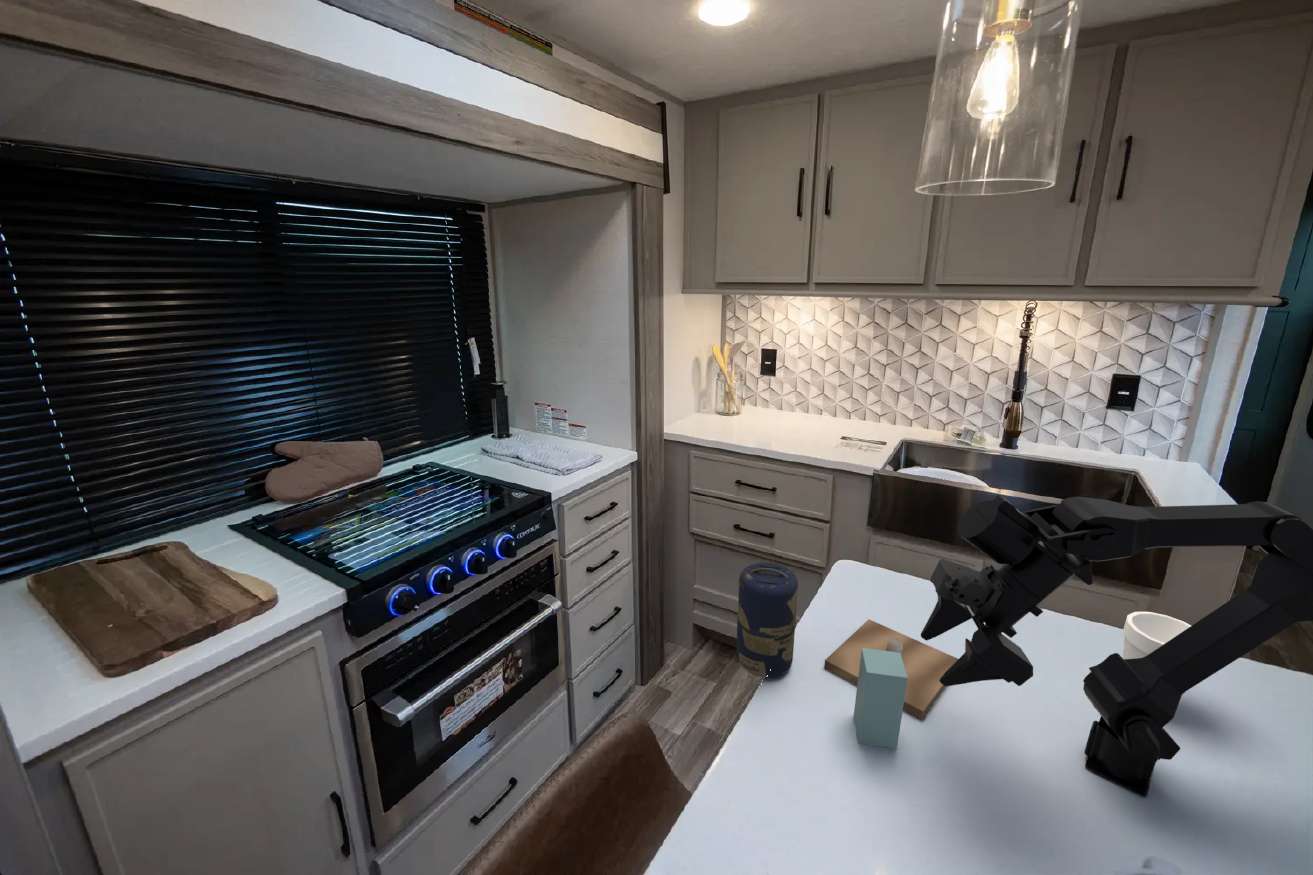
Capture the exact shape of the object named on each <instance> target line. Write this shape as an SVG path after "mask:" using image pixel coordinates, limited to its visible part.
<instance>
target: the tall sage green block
mask: <svg viewBox="0 0 1313 875" xmlns="http://www.w3.org/2000/svg"><path fill="white" fill-rule="evenodd" d="M907 679H908V677H907V674H906V670H905V667H904V664H903V660H902V657H901V653H898V652H890V651H883V650H875V649H867V648H862V651H861V659H860V667H859V675H858V684H857V685H856V693H855V700H854V701H855V702H854V708H853V720H854V727H855V734H856V739H857V743H858V744H863V745H871V746H876V747H882V748H883V747H884V748H890V749H894V750H895V749H898V742H899V738H900V737H899V736H900V730H901V725H902V716H903V712H904V710H903V705H904V699H905V692H906V686H907Z"/></svg>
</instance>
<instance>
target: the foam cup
mask: <svg viewBox="0 0 1313 875" xmlns="http://www.w3.org/2000/svg"><path fill="white" fill-rule="evenodd" d="M1191 626H1192V625H1191V624H1189V623H1187V622H1185V621H1183V620H1180V619H1178V618H1175V617H1173V616H1169V615H1166V614H1162V613H1161V614H1160V613H1157V612H1151V611H1133V612H1132V613H1128V614H1127V616H1126V619H1125V623H1124V627H1123V636H1124V638H1123V639H1124V640H1123V649H1122V650H1123V651H1122V658H1123V659H1134V658H1143V657H1145V656H1147V655H1149V654H1150V653H1152V652H1153V651H1155V650H1156V649H1158V648H1159V647H1161V646H1162V645H1164V644H1165V643H1167V642H1168V641H1170V640H1171V639H1173V638H1174V637H1176V636H1177V635H1179V634H1180V633H1182V632H1183V631H1185V630H1186V629H1188V628H1189V627H1191ZM1185 693H1186V692H1184V693H1183V694H1182V696H1181V699H1180V701H1181V700H1182V698H1183V696H1184V694H1185Z"/></svg>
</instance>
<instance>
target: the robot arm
mask: <svg viewBox="0 0 1313 875" xmlns="http://www.w3.org/2000/svg"><path fill="white" fill-rule="evenodd" d="M957 534H958V535H959V536H960V537H961V538H962V539H964V540H965V541H966V542H968V543H969V544H970V545H972V546H974V547H975V548H976V549H977V550H979V551H980V552H982V554H984V555H986V556H987V557H988V558H990V559H991V560H992V561H993V562H995V563H997V564H1000V565H1001V566H1000V567H998V568H997V567H996V566H994V565H993V564H990V566H989V565H988V566H987V565H986V566H985V567H984V568H983V569H982V570H980V571H978V570H976V569H973V568H971V567H969V566H967V565H964V564H960V563H957V562H954V561H951V560H948V559H943V558H941V559H938V562H937V564H936V566H935V568H934V569H933V572H932V574H931V575H930V579H929V581H930V582H931V584H933V586H934V588H935V590H934V591H935V593H936V595H937V602H936V604H935V605H934V608H933V610H932V611H931V613H930V615H929V618H928V620H927V621H926V623H925V625H924V627H923V629H922V631H921V633H920V637H921V639H923V640H924V641H929V640H930V641H931V640H932V639H934V638H936V637H939V636H941V635H943V634H944V633H946V632H948V631H950V630H952V629H954V628H956V627H958V626H960V625H961V624H964V623H965V622H966V623H967V621H969V620H971V619H972V621H973V622H974V624H975V626H976V628H977V630H975V631H974V632H973V635H972V637H971V640H970V639H968V638H965V643H964V646H965V647H964V650H965V652H964V653H963V654H962V655H961V656H960V657H959V658H958V660H957V661H956V662H955V663H954V664H953V665H952V666H951V667H950V668H949V669H948V670H947V671H946V672H945V673H944V674H943V676H942V677H941V678H940V680H939V681H940V683H941V684H943V685H944V686H946V687H952V686H958V685H964V684H968V683H969V684H970V683H977V682H981V681H985V682H986V681H997V680H1004V681H1005V682H1006V683H1008V684H1009V683H1012V682H1013V683H1014V684H1015V685H1017V686H1018V687H1021V686H1022V685H1024V683H1026V682H1027V681H1029V680H1030V679H1031V678H1033V677H1034V665H1033V664H1032V663H1031V661H1030V660H1029V658H1028V656H1027V655H1026V654H1025V652H1024V650H1023V649H1022V648H1021V647H1020V646H1019V645H1017V644H1016V643H1015V642H1013V641H1012V640H1011V639H1012V638H1013V637H1014V636H1016V635H1017V634H1018V632H1017V630H1016V629H1015V627H1014V625H1016V624H1017V623H1018V622H1019V621H1020V620H1021V619H1023V618H1025V616H1027V615H1028V614H1029V613H1030V614H1033V616H1035V617H1036V618H1037V617H1039V616H1040V615H1041V614H1042V613H1044V611H1043V609H1042V608H1041V607H1040V606H1039V605H1040V604H1041V603H1042V602H1044V601H1045V600H1046V599H1047V598H1048V597H1050V596H1051V595H1052V594H1053V593H1055V592H1056V591H1057V590H1058V589H1060V587H1062V586H1064V585H1065V583H1067V582H1068V581H1069V580H1070V579H1072V578H1073V577H1074V576H1075V577H1076V578H1077V579H1079V580H1080V581H1082V583H1084V584H1086V585H1087V586H1092V585H1093V584H1094V579H1093V572H1092V568H1093V562H1106V561H1112V560H1119V559H1126V558H1131V557H1133V556H1135V555H1137V554H1138V553H1140V552H1142V551H1144V550H1149V549H1153V548H1187V547H1188V548H1196V547H1197V548H1198V547H1203V548H1204V547H1205V548H1207V547H1209V548H1210V547H1255V546H1256V547H1257V546H1258V547H1259V548H1260V549H1261V550H1262V551H1264V553H1266V555H1265V556H1263V558H1262V559H1260V561H1258V562H1257V564H1256V567H1255V570H1254V573H1253V575H1252V579H1251V581H1250V584H1249V586H1248V587H1247V588H1246V589H1244V590H1243V591H1241V592H1240V593H1239V594H1236V596H1234V597H1233V598H1231V599H1230V600H1228V601H1227V602H1226V603H1224V604H1222V605H1221V606H1219V607H1218V608H1216V609H1214V610H1213V611H1211V612H1210V613H1208V614H1207V615H1205V616H1204V617H1203V618H1200V620H1198V621H1197V622H1195V623H1194V624H1192V625H1191V627H1189V628H1188V629H1186V630H1185V631H1183V632H1182V633H1180V634H1179V635H1177V636H1176V637H1174V638H1173V639H1171V640H1170V641H1168V642H1167V643H1165V644H1164V645H1162V646H1161V647H1159V648H1158V649H1156V650H1155V651H1153V652H1152V653H1150V654H1149V655H1147V656H1145V657H1143V658H1134V659H1123V656H1121V655H1120V653H1118V652H1115V653H1111V654H1109V655H1108V656H1107V657H1106V658H1105V659H1103V661H1101V662H1100V663H1098V664H1096V665H1092V666H1090V667H1089V668H1088V669H1089V671H1090V672H1089V673H1088V674H1087V675H1085V677H1083V678H1084V679H1083V680H1082V681H1083V687H1082V688H1083V691H1084V692H1083V693H1084V694H1085V696H1086V698H1087V699H1088V700H1089V702H1090V703H1091V705H1092V706H1093V708H1094V709H1095V710H1096V711H1097V712H1098V714H1099V715H1100V717H1099V720H1093V722H1092V725H1091V727H1090V730H1089V734H1088V736H1087V741H1086V743H1085V744H1086V745H1085V749H1084V752H1083V753H1084V755H1085V756H1087V757H1086V760H1085V765H1084V768H1086V769H1087V770H1088V771H1091V772H1093V773H1094V774H1097V775H1098V776H1101V777H1103V778H1105V779H1107V780H1109V781H1112V782H1113V783H1115V784H1117V785H1119V786H1120V787H1123V788H1125V789H1127V790H1129V791H1131V792H1132V793H1135V794H1137V795H1139V796H1141V797H1144V798H1147V797H1148V795H1149V789H1150V785H1151V779H1152V775H1153V772H1154V768H1155V766H1156V763H1157V762H1158V761H1159V760H1169V761H1170V760H1172V759H1173V758H1174V756H1176V755H1177V754H1178V752H1179V751H1181V747H1180V745H1179V744H1178V743H1177V742H1176V741H1175V740H1174V738H1173V737H1172V736H1171V735H1170V734H1169V733H1168V731H1167V730H1166V729H1165V728H1164V727H1165V726H1166V725H1167V724H1169V722H1171V721H1172V720H1173V719H1174V718H1175V717H1176V716H1175V715H1176V713H1177V711H1178V707H1179V705H1180V704H1179V703H1180V702H1181V700H1182V698H1181V696H1182V694H1183V693H1184V692H1185V693H1186V692H1188V691H1190V689H1192V688H1194V687H1195V686H1197V685H1198V684H1200V683H1202V682H1203V681H1205V680H1207V679H1208V678H1210V677H1211V676H1213V675H1214V674H1217V673H1218V672H1219V671H1221V670H1222V669H1223V668H1225V667H1227V666H1228V665H1230V664H1232V663H1233V662H1235V661H1237V660H1239V659H1240V658H1242V657H1243V656H1245V655H1246V654H1248V653H1250V652H1251V651H1253V650H1254V649H1256V648H1257V647H1259V646H1261V645H1262V644H1264V643H1265V642H1267V641H1269V640H1270V639H1272V638H1273V637H1275V636H1277V635H1278V634H1279V633H1281V632H1283V631H1285V630H1286V629H1288V628H1289V627H1291V626H1292V625H1294V624H1296V623H1301V622H1303V623H1304V622H1311V621H1313V528H1312V527H1310V526H1309V525H1308V524H1307V523H1306V522H1305V521H1304V519H1303V518H1302V517H1300V516H1297V515H1295V514H1293V513H1291V512H1289V511H1287V510H1285V509H1283V508H1281V507H1279V506H1277V505H1274V504H1273V503H1271V502H1267V501H1266V502H1265V501H1257V500H1255V501H1251V502H1250V501H1249V502H1247V503H1244V504H1243V503H1240V504H1237V503H1236V504H1235V503H1234V504H1206V505H1205V504H1204V505H1202V504H1201V505H1200V504H1199V505H1172V506H1171V505H1166V506H1135V505H1128V504H1125V503H1121V502H1118V501H1117V502H1116V501H1112V500H1110V499H1109V500H1108V499H1102V498H1094V497H1084V496H1071V497H1067V498H1065V499H1062V500H1061V501H1060V503H1058V504H1053V505H1049V506H1048V505H1047V506H1042V507H1037V508H1032V509H1028V510H1022V511H1020V510H1019V509H1017V507H1015V506H1014V505H1013V504H1012V503H1011V502H1010V501H1009V500H1008V499H1007V498H1006V497H1004V496H1003V495H1001V494H997V495H996V496H995V497H994V498H993V499H992V500H985V501H981V502H979V503H978V504H977V503H976V505H971V506H970V507H969V508H968V509H967V510H966V511H965V512H964V514H963V515H962V517H961V518H960V520H959V522H958V525H957ZM1042 540H1043V541H1044V542H1043V541H1042ZM1004 634H1005V635H1006V636H1005V635H1004ZM1008 637H1009V638H1008ZM1185 693H1184V694H1185ZM1182 697H1183V696H1182ZM1180 699H1181V700H1180Z"/></svg>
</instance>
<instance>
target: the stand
mask: <svg viewBox="0 0 1313 875" xmlns="http://www.w3.org/2000/svg"><path fill="white" fill-rule="evenodd" d="M862 648H867V649H875V650H883V651H890V652H898V653H901V657H902V660H903V664H904V667H905V670H906V674H907V677H908V679H907V686H906V692H905V699H904V705H903V712H906V713H907V714H909V715H912V716H913V717H915V718H917V719H919V720H921V721H923V719H924V718H925V716H926V715H927V714H928V712H929V710H930V709H931V708H932V706H933V705H934V704H935V702H936V700H937V699H938V698H939V696H940V695H941V694H942V692H943V691H944V689H945V688H946V687H947V686H944V685H943V684H941V683H940V681H939V680H940V678H941V677H942V676H943V674H944V673H945V672H946V671H947V670H948V669H949V668H950V667H951V666H952V665H953V664H954V663H955V662H956V661H957V660H958V659H959V658H957V657H955V656H952V655H951V654H949V653H947V652H944V651H942V650H940V649H937V648H935V647H933V646H931V645H928V644H926V643H923V642H922V641H919V640H916V639H915V638H912V637H910V636H908V635H906V634H903V633H901V632H899V631H897V630H894V629H892V628H890V627H887V626H885V625H882V624H880V623H878V622H876V621H873V620H872V619H869V618H868V619H867V620H866V621H865V622H863V623H862V625H860V626H859V628H858V629H857V630H855V632H853V633H852V634H851V635H850V636H849V637H848V638H847V639H845V641H844V642H843V643H842V644H840V645H839V646H838V647H837V648H836V649H834V651H833V652H832V653H831V654H830V655H829V656H828V657H827V658H826V659H824V664H823V665H824V667H823V668H824V669H825V670H826V671H829V672H831V673H832V674H834V675H835V676H838V677H840V678H842V679H844V680H846V681H847V682H849V683H851V684H853V685H855V686H857V684H858V675H859V667H860V659H861V651H862Z"/></svg>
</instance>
